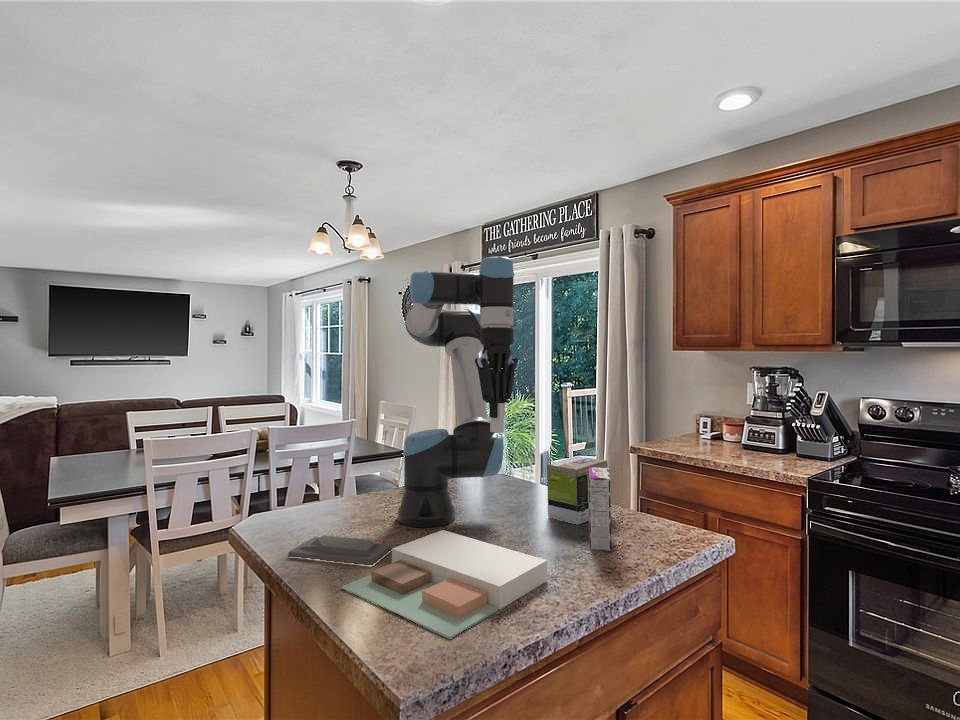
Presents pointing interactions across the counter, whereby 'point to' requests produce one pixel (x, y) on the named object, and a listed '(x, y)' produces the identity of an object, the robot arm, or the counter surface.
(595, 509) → the candy bar box
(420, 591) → the mat
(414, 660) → the counter surface
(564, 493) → the tea box
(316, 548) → the soap mold
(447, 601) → the terracotta tile
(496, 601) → the white flat block
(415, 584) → the walnut tile
